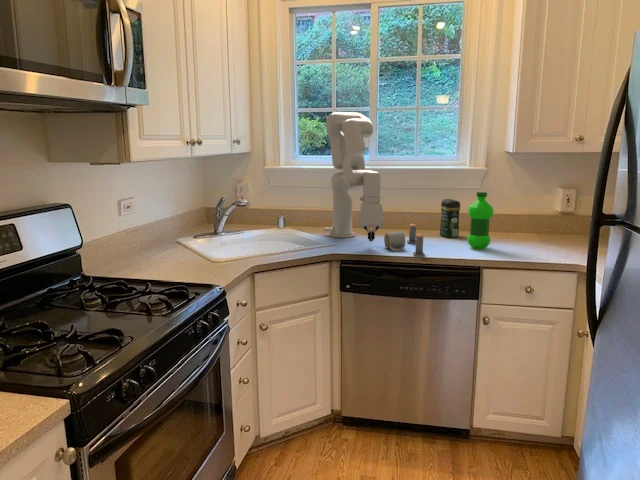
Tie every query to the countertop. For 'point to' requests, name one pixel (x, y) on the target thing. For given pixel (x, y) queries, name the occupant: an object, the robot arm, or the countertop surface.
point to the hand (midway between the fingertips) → (371, 240)
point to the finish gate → (416, 240)
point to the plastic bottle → (480, 222)
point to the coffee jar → (450, 218)
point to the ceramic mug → (395, 241)
